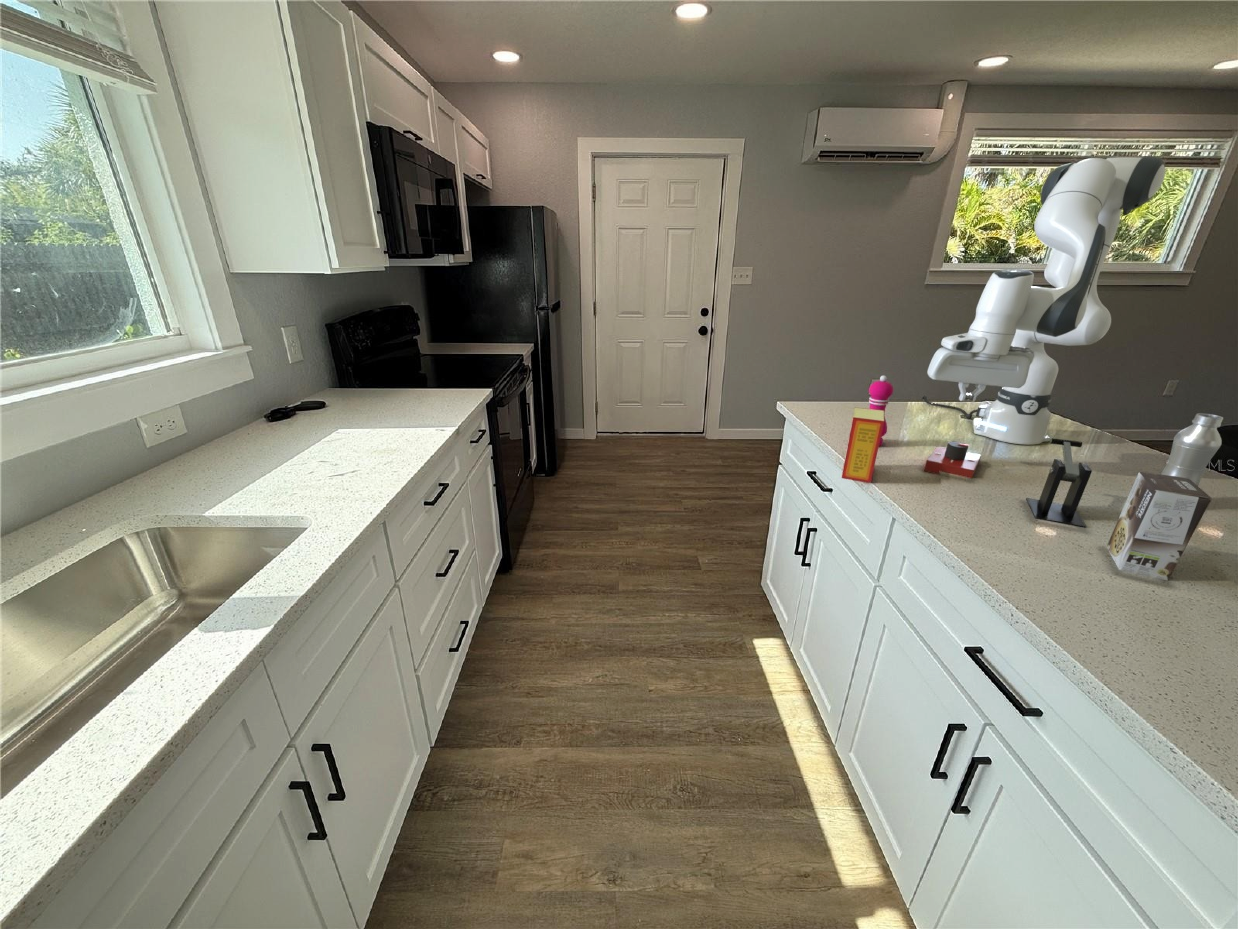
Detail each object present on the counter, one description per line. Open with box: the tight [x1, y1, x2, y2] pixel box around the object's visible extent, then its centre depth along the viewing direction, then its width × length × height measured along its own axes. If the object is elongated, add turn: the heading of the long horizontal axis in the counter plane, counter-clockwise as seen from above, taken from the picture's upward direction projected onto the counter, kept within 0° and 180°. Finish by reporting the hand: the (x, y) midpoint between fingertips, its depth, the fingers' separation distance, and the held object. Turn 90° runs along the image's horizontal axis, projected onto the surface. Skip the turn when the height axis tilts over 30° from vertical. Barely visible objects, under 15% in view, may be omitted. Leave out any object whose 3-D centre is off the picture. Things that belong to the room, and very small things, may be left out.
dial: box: [944, 440, 970, 460], centre depth 124 cm, size 4×4×4 cm
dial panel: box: [923, 445, 982, 479], centre depth 125 cm, size 13×10×3 cm
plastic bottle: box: [1160, 412, 1224, 487], centre depth 104 cm, size 6×7×20 cm
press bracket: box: [1025, 458, 1093, 529], centre depth 100 cm, size 10×8×12 cm
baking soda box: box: [841, 407, 884, 484], centre depth 120 cm, size 10×6×16 cm
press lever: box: [1049, 437, 1083, 483], centre depth 101 cm, size 11×5×2 cm, turn 151°
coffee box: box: [1106, 471, 1213, 582], centre depth 83 cm, size 9×6×16 cm
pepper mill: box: [868, 374, 894, 447], centre depth 139 cm, size 7×7×20 cm
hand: (966, 401), depth 120 cm, fingers closed
